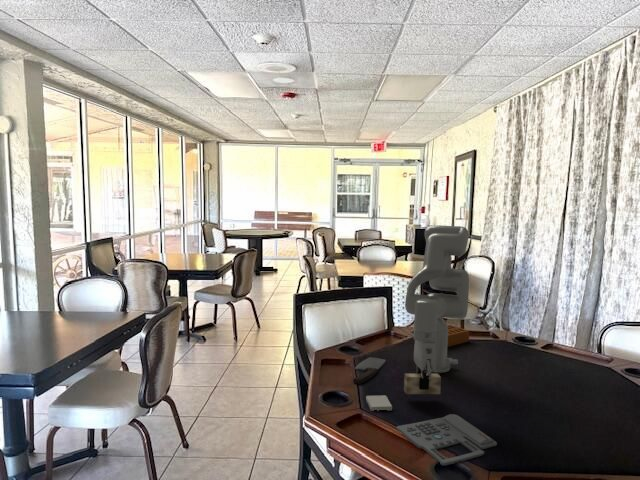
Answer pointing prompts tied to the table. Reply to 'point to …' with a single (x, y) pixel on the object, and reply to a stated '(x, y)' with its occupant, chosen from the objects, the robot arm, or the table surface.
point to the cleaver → (368, 369)
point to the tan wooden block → (414, 380)
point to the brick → (457, 335)
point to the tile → (378, 403)
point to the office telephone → (447, 437)
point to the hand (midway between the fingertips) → (422, 386)
